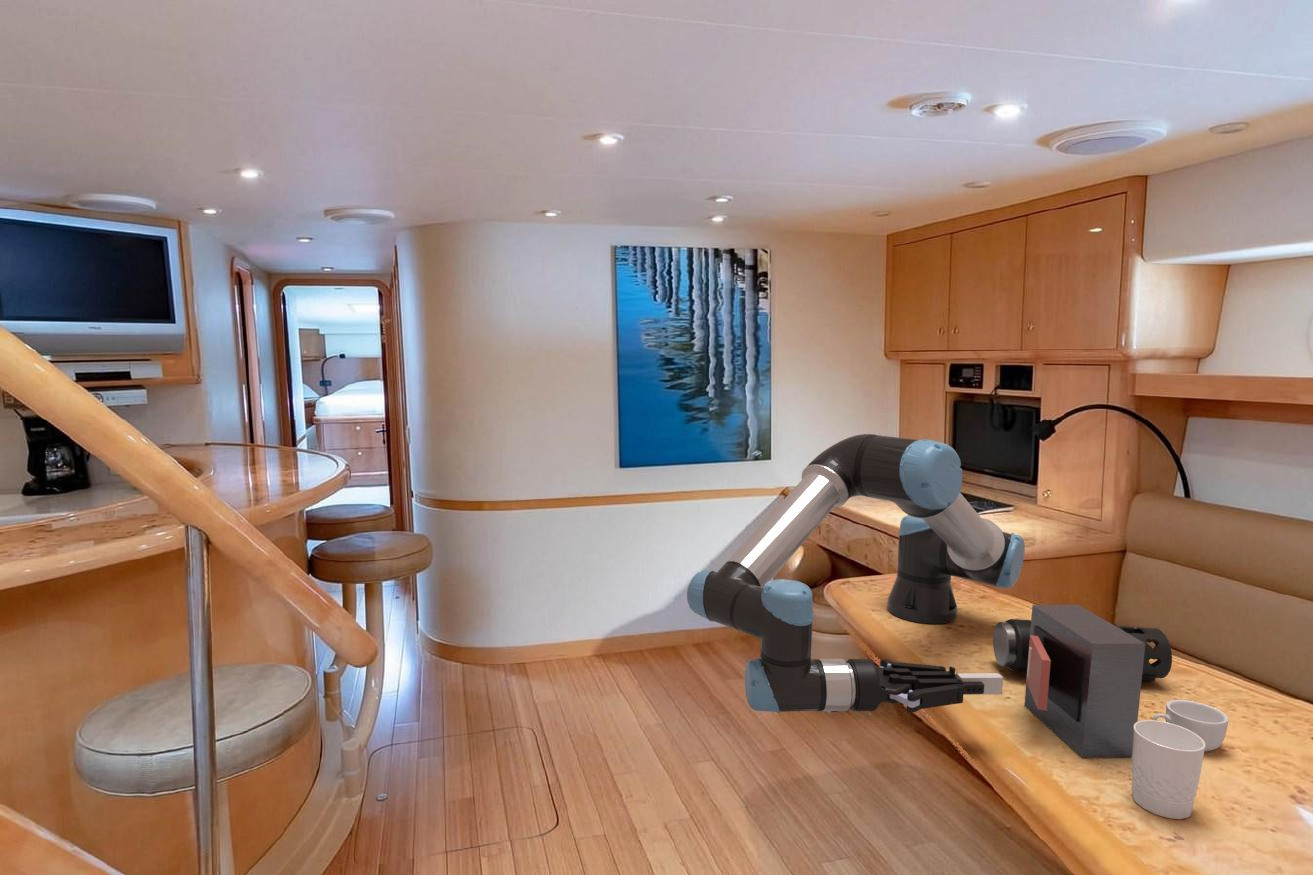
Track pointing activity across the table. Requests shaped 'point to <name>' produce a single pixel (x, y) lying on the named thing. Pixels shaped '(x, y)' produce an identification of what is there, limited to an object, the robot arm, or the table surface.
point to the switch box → (1088, 680)
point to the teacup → (1198, 720)
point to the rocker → (1038, 672)
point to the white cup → (1166, 768)
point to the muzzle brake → (1016, 632)
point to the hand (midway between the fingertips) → (1000, 683)
